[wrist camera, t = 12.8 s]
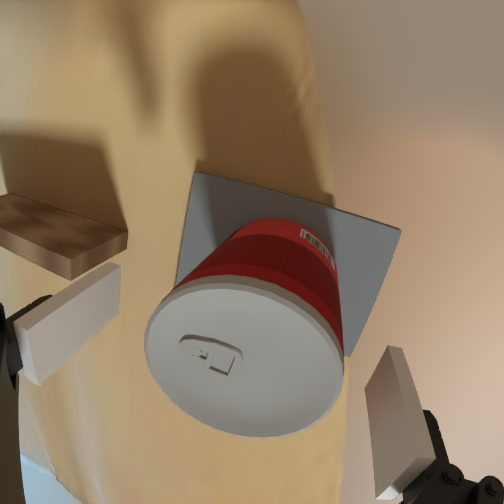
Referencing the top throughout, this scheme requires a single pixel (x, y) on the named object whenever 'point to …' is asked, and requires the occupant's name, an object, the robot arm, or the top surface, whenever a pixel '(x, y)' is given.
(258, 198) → the slate mat
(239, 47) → the top surface
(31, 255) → the walnut screen
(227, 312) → the canned food
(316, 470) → the top surface
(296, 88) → the top surface
